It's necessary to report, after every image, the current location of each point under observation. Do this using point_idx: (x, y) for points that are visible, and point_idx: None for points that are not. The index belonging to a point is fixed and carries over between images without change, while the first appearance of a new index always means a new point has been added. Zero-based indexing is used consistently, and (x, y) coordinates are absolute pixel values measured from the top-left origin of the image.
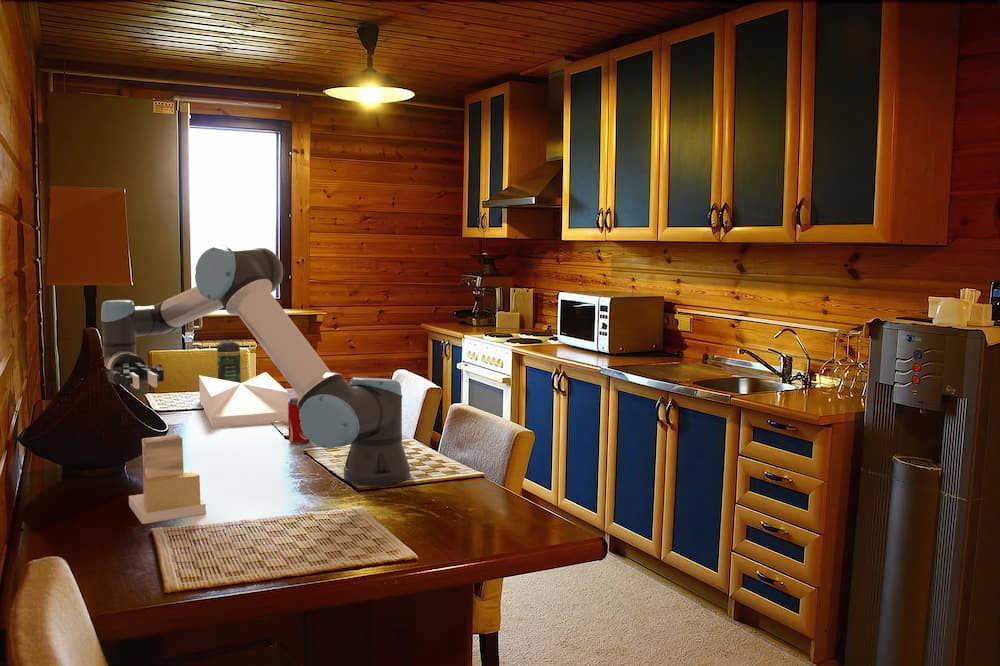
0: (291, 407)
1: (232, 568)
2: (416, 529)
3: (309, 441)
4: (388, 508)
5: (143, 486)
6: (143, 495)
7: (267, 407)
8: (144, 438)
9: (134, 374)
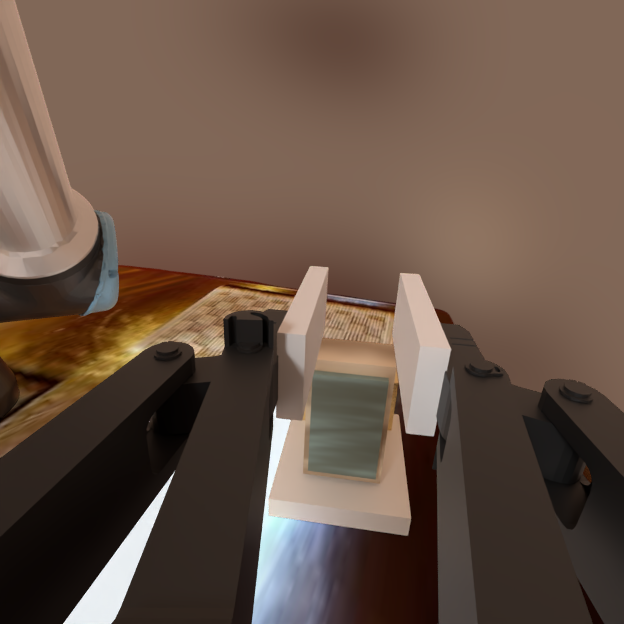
0: None
1: (341, 316)
2: (167, 304)
3: None
4: (120, 334)
5: (396, 393)
6: (378, 502)
7: None
8: (390, 365)
9: (419, 300)
